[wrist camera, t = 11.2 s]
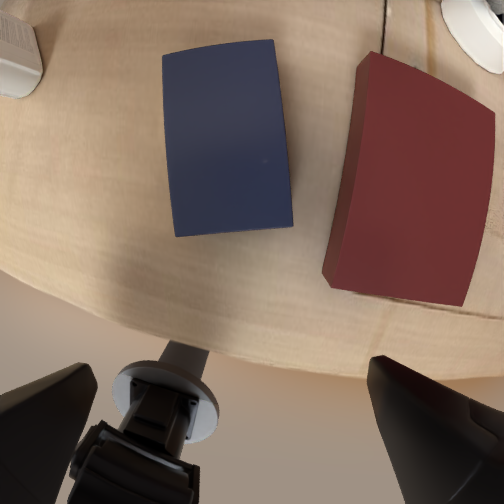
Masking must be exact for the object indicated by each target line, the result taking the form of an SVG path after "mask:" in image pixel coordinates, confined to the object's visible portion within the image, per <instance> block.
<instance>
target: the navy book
mask: <svg viewBox="0 0 504 504" xmlns="http://www.w3.org/2000/svg"><path fill="white" fill-rule="evenodd" d="M162 81H163V110H164V129H165V144H166V157H167V169H168V179H169V189H170V199H171V207H172V216H173V224H174V232H175V237H184V236H195V235H205V234H216V233H227V232H239V231H250V230H262V229H275V228H287V227H293V211H292V198H291V186H290V174H289V163H288V153H287V143H286V133H285V124H284V115H283V106H282V98H281V90H280V82H279V74H278V67H277V60H276V53H275V46H274V40H273V39H269V40H254V41H243V42H234V43H226V44H218V45H212V46H206V47H200V48H194V49H189V50H184V51H179V52H175V53H170V54H166V55H163V56H162Z"/></svg>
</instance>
